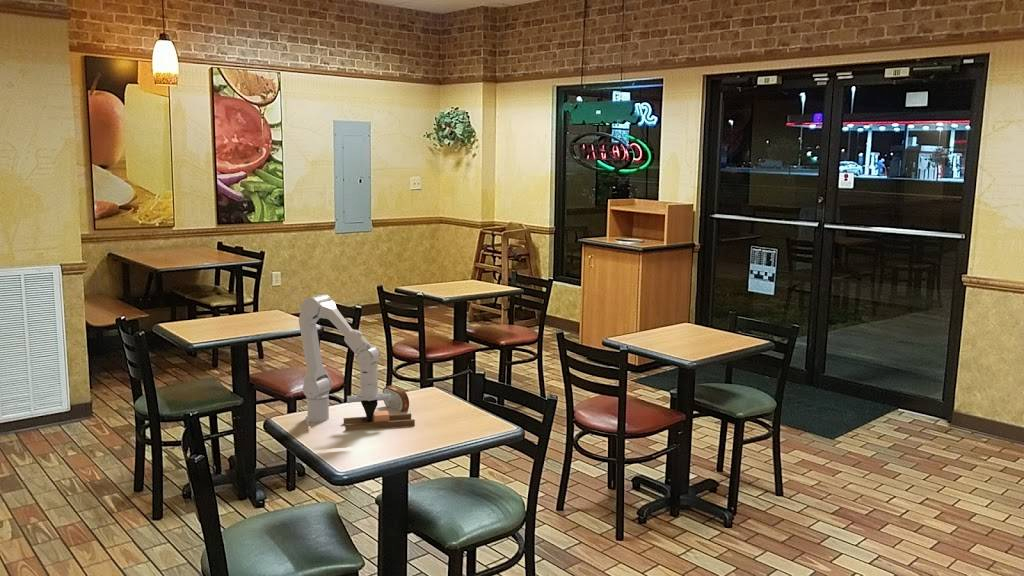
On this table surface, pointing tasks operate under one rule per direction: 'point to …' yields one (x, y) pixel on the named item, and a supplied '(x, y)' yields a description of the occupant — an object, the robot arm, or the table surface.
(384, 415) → the block
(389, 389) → the tin
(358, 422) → the chute
